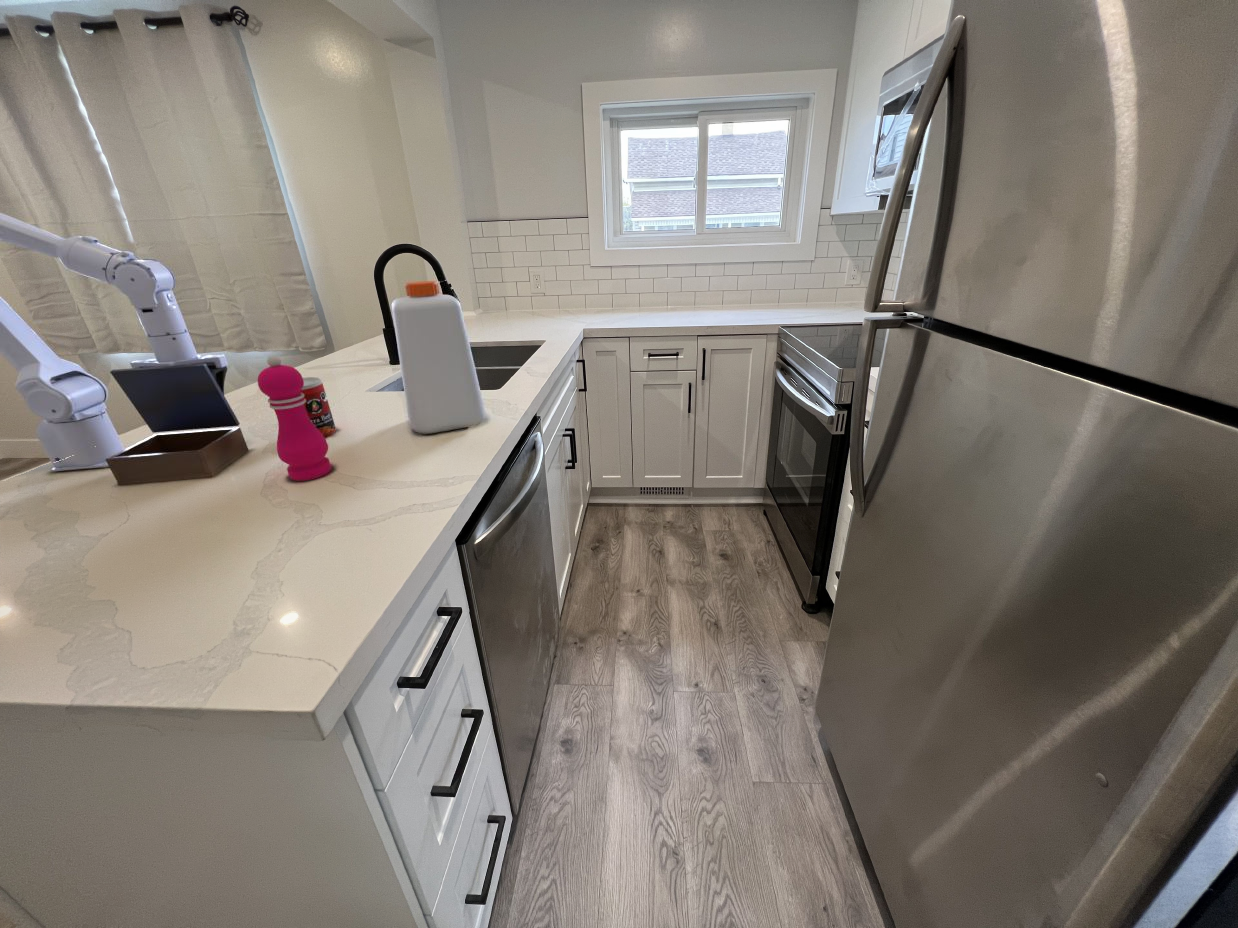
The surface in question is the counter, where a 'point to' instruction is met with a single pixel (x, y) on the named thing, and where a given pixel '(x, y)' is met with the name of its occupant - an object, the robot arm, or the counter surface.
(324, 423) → the canned food
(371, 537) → the counter surface
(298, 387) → the pepper mill
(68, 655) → the counter surface
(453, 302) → the plastic bottle
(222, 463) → the chest
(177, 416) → the lid
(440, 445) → the counter surface
